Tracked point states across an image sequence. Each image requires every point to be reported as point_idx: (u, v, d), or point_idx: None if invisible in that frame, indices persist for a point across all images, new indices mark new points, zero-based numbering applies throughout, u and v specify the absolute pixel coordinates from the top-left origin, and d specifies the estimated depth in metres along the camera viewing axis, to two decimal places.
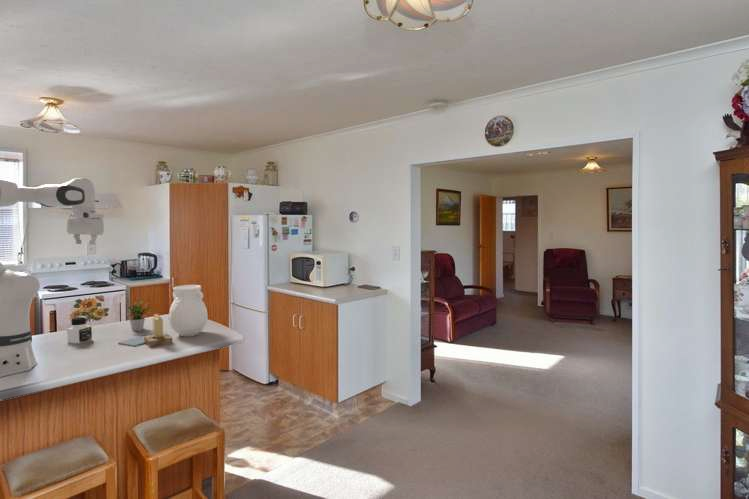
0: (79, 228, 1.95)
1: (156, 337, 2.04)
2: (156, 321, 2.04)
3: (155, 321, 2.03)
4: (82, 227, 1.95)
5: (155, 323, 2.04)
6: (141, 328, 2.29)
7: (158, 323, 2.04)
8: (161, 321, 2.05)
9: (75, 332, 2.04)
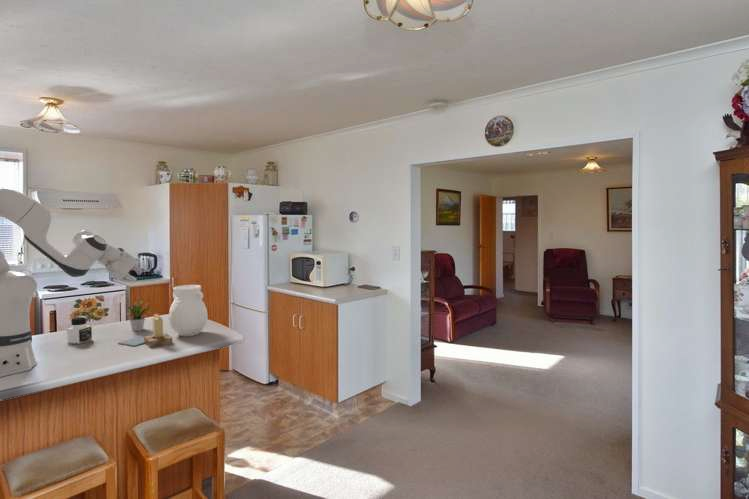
0: (126, 265, 1.94)
1: (156, 337, 2.04)
2: (156, 321, 2.04)
3: (155, 321, 2.03)
4: (126, 262, 1.95)
5: (155, 323, 2.04)
6: (141, 328, 2.29)
7: (158, 323, 2.04)
8: (161, 321, 2.05)
9: (75, 332, 2.04)
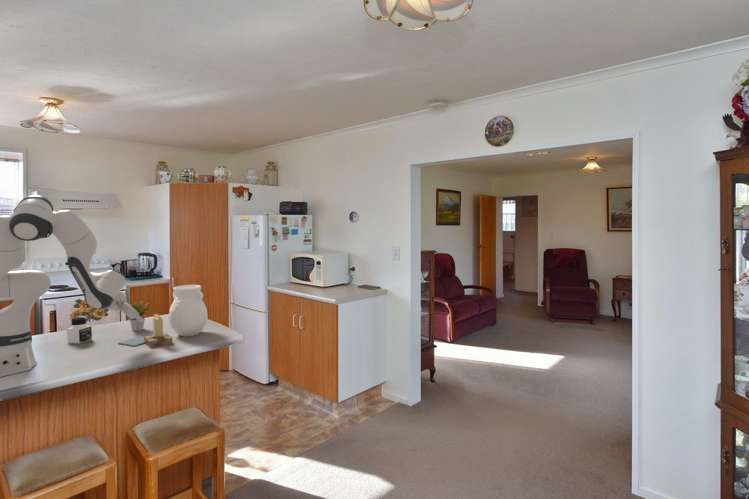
0: None
1: (156, 337, 2.04)
2: (156, 321, 2.04)
3: (155, 321, 2.03)
4: (129, 305, 1.98)
5: (155, 323, 2.04)
6: (141, 328, 2.29)
7: (158, 323, 2.04)
8: (161, 321, 2.05)
9: (75, 332, 2.04)
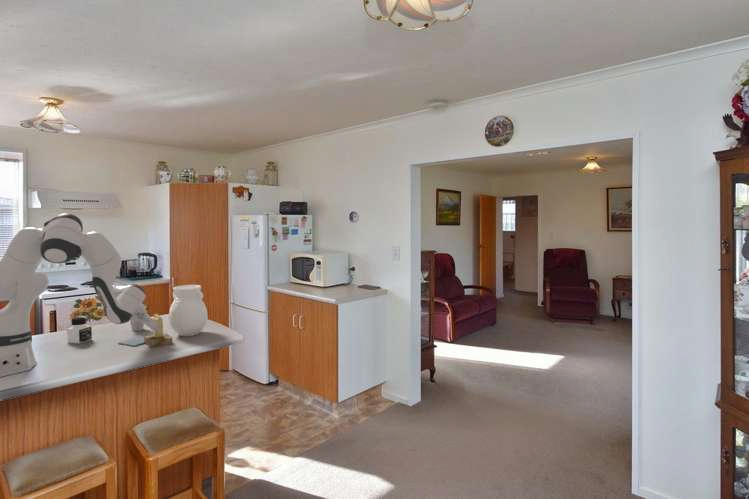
0: None
1: (156, 337, 2.04)
2: (156, 321, 2.04)
3: None
4: None
5: None
6: (141, 328, 2.29)
7: (158, 323, 2.04)
8: (161, 321, 2.05)
9: (75, 332, 2.04)
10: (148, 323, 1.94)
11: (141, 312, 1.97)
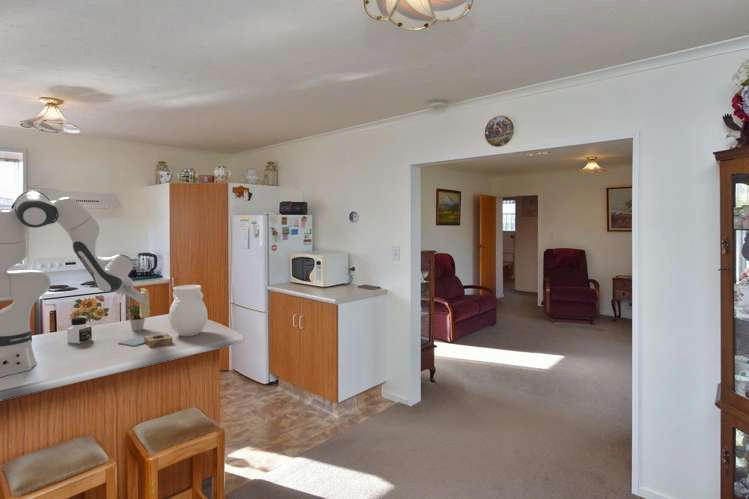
0: None
1: (142, 310, 2.05)
2: (143, 294, 2.04)
3: None
4: None
5: None
6: (141, 328, 2.29)
7: (145, 296, 2.05)
8: (148, 295, 2.06)
9: (75, 332, 2.04)
10: (134, 295, 1.95)
11: (127, 285, 1.98)
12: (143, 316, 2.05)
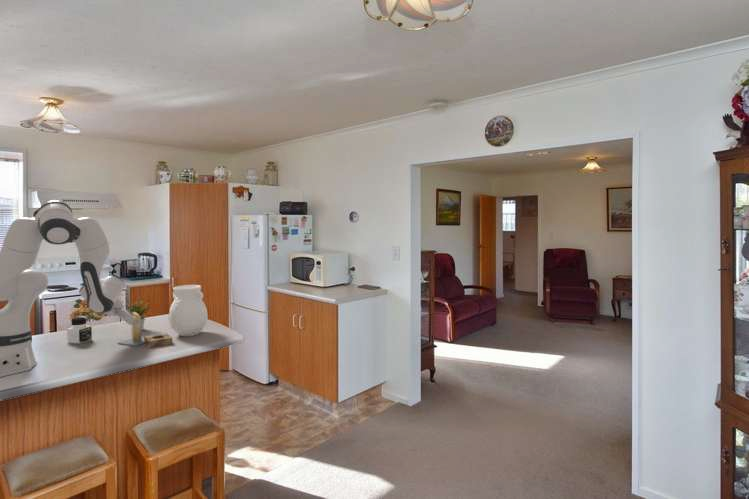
0: (128, 312, 2.04)
1: (134, 335, 2.05)
2: None
3: None
4: (126, 311, 2.05)
5: None
6: (141, 328, 2.29)
7: None
8: (139, 319, 2.06)
9: (75, 332, 2.04)
10: (125, 318, 1.95)
11: (118, 307, 1.98)
12: (134, 340, 2.06)
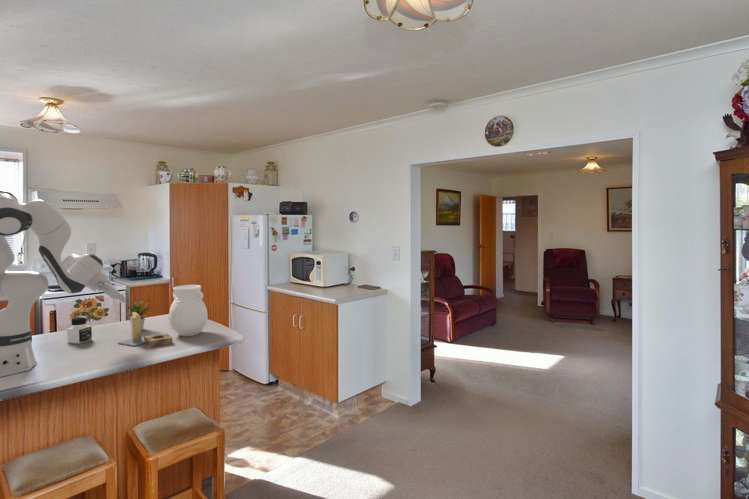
0: (114, 288, 2.00)
1: (134, 335, 2.05)
2: (134, 319, 2.05)
3: (133, 319, 2.05)
4: (112, 286, 2.01)
5: (133, 321, 2.05)
6: (141, 328, 2.29)
7: (136, 321, 2.06)
8: (139, 319, 2.06)
9: (75, 332, 2.04)
10: (108, 291, 1.91)
11: (102, 281, 1.94)
12: (134, 340, 2.06)
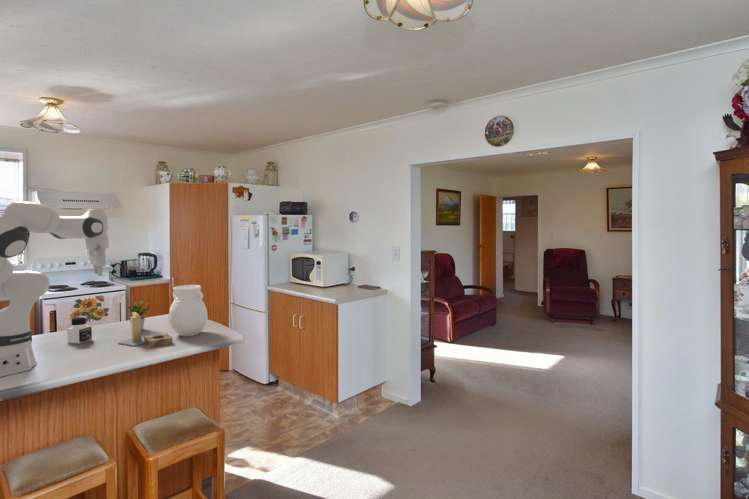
0: None
1: (134, 335, 2.05)
2: (134, 319, 2.05)
3: (133, 319, 2.05)
4: None
5: (133, 321, 2.05)
6: (141, 328, 2.29)
7: (136, 321, 2.06)
8: (139, 319, 2.06)
9: (75, 332, 2.04)
10: (99, 257, 1.89)
11: (101, 247, 1.94)
12: (134, 340, 2.06)
